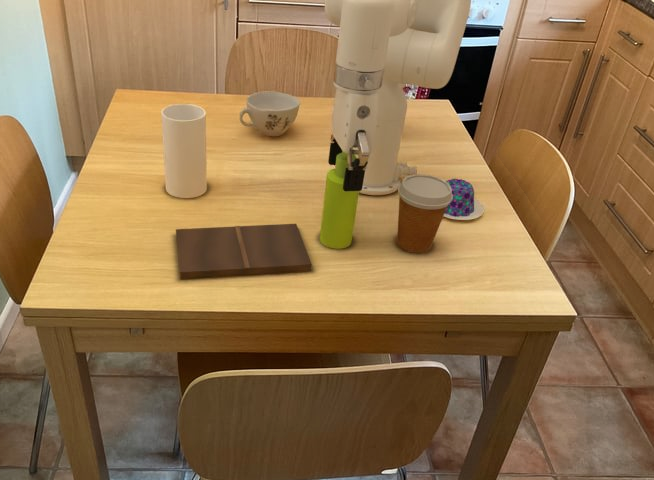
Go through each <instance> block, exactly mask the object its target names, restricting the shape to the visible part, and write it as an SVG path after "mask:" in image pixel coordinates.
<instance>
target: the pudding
mask: <svg viewBox="0 0 654 480" xmlns="http://www.w3.org/2000/svg"><path fill="white" fill-rule="evenodd" d="M445 181H446V182H447V183H448V184H449V185H450V186H451V189H452V194H453V199H452V201H451V202H450V203H449V205H448V206H447V208H446V211H445V213H444V216H443V218H448V219H452V220H457V221H458V220H459V221H470V220H473V219H474V220H475V219H478V218H480V217H481V216H482V215H483V214H485V213H484V212H485V207H484V204H483V203H482V202H481V201H480V200H479V199H477V198H476V197H475V189H474V187H473V185H472V183H471V182H469V181H466V180H465V179H462V178H461V179H458V178H451V179H447V180H445Z"/></svg>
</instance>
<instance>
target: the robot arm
mask: <svg viewBox="0 0 654 480" xmlns="http://www.w3.org/2000/svg"><path fill="white" fill-rule="evenodd" d="M471 5H472V0H324V13H325V15H326V18H327V20H328V21H329V22H330V23H331V24H333V25H335V26H337V27H339V32H338V40H337V49H336V56H335V57H336V58H335V63H334V64H335V65H334V74H333V81H332V82H333V83H332V84H333V87H335V88H336V90H335V95H334V99H333V106H332V107H333V108H332V115H331V124H330V126H331V129H330V130H331V135H330V141H331V142H330V145H329V152H328V159H327V160H328V161H327V162H328V164H329V166H335V165H336V157H337V155H338V154H339V153H342V151H343V152H344V153H346V154H347V161H348V168H345V176H344V183H343V190H344V191H359V194H363V195H368V196H385V195H390V194H392V193H395V192H397V191H398V187H399V185H400V184H401V183H402V180H401V178H403V176H410V175H416V174H418V167H417V166H414V165H413V166H411V165H410V166H409V165H408V162H407V161H406V162H398V159H399V155H400V148H401V143H402V137H403V134H404V133H403V131H404V128H405V122H406V117H407V111H408V100H407V95H406V93H405V92H404V91H403V88H402V86H401V84H400V83H402V84H403V83H404V84H406V85H409V86H415V87H421V88H426V89H427V88H428V89H434V90H439V89H442V88H444V87H445V86H447V84H448V83H449V81H450V80H451V77H452V75H453V72H454V70H455V65H456V62H457V59H458V56H459V51H460V48H461V44H462V40H463V37H464V33H465V30H466V27H467V23H468V19H469V16H470V15H469V14H470V11H471ZM351 148H353V150H351ZM352 155H355V156H356V159H355V160H354V161H353V157H352Z"/></svg>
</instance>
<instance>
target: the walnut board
mask: <svg viewBox="0 0 654 480" xmlns="http://www.w3.org/2000/svg"><path fill="white" fill-rule="evenodd" d="M175 239H176V248H177V249H176V250H177V257H178V267H179V268H178V269H179V279H180V280H193V279H194V280H195V279H208V278H223V277H224V278H225V277H239V276H240V277H241V276H254V275H255V276H256V275H272V274H273V275H274V274H288V273H305V272H312V267H313V263H312V261H311V258H310V256H309V253H308V250H307V248H306V245H305V242H304V240H303V238H302V235H301V232H300V230H299V227H298V225H297V223H277V224H257V225H256V224H255V225H235V226H217V227H215V226H214V227H196V228H194V227H193V228H176V229H175Z"/></svg>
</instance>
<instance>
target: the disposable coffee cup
mask: <svg viewBox="0 0 654 480" xmlns="http://www.w3.org/2000/svg"><path fill="white" fill-rule="evenodd" d="M446 181H447V180H444V179H442V178H440V177H437V176H434V175H430V174H421V173H419V174H418V173H417V174H416V175H410V176H408V175H406V177H404V178H403V179H402V180H401V183H400V185H399V187H398V190H397V192H398V195H399V198H398V199H399V201H398V218H397V219H398V220H397V230H396V231H397V232H396V243H397V245H398V247H400V248H401V249H402V250H405V251H406V252H409V253H414V254H422V253H426V252H428V251H430V249H431V248H432V245H433V243H434V241H435V238H436V235H437V233H438V231H439V228H440V226H441V223H442V221H443V218H444V213H445V211H446V208H447V206H448V205H449V203H450V202H451V201H452V199H453V194H452V189H451V186H450V185H449V184H448V183H447V182H446Z"/></svg>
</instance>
